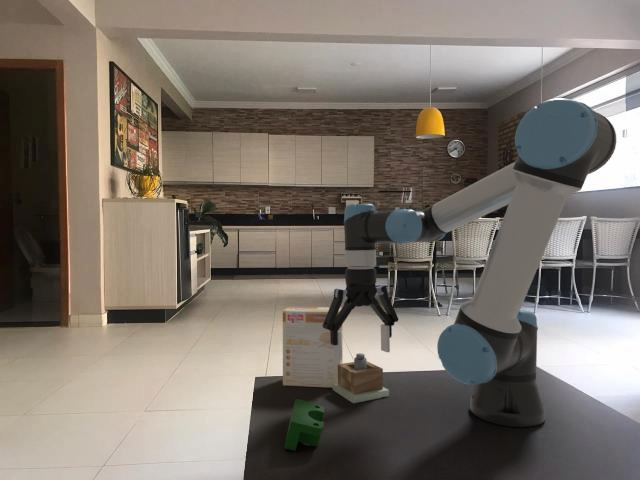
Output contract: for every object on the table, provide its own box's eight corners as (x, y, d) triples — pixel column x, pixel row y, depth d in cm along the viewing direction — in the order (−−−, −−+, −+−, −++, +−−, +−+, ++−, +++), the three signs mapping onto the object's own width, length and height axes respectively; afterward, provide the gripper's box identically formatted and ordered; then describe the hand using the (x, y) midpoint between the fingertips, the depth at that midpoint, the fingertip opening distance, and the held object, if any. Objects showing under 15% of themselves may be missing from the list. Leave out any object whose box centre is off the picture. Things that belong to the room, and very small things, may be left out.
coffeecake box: (343, 379, 124) (343, 307, 124) (340, 389, 117) (340, 311, 117) (288, 377, 126) (288, 305, 126) (282, 386, 119) (282, 310, 119)
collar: (382, 389, 113) (382, 368, 112) (354, 394, 109) (354, 373, 109) (365, 379, 120) (365, 360, 120) (337, 384, 116) (337, 364, 116)
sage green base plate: (388, 396, 112) (389, 357, 112) (353, 403, 108) (353, 362, 107) (366, 383, 121) (366, 347, 121) (332, 389, 116) (332, 352, 116)
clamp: (311, 472, 86) (322, 437, 82) (280, 463, 86) (289, 429, 82) (319, 422, 97) (329, 389, 93) (291, 415, 97) (299, 382, 93)
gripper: (393, 264, 122) (395, 345, 123) (307, 269, 111) (309, 358, 111) (411, 266, 116) (413, 351, 116) (322, 271, 105) (323, 365, 105)
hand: (362, 354), depth 114 cm, fingers open, 13 cm apart
